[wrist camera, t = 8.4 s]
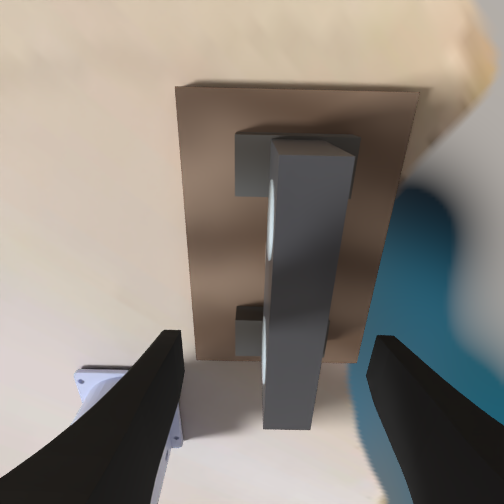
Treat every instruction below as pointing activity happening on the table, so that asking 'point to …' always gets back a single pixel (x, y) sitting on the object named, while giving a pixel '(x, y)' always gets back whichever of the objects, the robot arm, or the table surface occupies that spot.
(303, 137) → the display stand
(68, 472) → the robot arm
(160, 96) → the table surface
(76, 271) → the table surface
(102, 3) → the table surface
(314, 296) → the long gray beam
